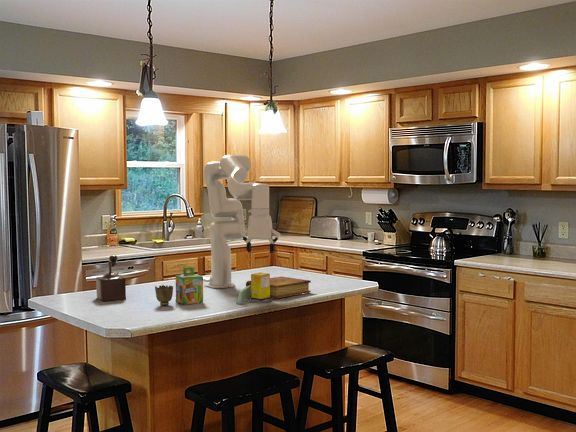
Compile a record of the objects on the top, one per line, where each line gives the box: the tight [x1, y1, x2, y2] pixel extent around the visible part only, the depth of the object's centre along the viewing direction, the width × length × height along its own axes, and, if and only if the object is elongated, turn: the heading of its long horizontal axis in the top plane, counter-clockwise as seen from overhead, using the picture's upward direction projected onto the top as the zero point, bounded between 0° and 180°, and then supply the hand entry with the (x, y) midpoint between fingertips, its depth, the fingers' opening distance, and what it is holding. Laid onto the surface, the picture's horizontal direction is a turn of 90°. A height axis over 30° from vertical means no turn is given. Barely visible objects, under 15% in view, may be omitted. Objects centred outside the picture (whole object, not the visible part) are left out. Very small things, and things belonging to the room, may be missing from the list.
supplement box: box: [250, 271, 271, 301], centre depth 274 cm, size 6×6×11 cm
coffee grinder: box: [95, 254, 127, 302], centre depth 281 cm, size 16×11×18 cm
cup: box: [154, 284, 174, 307], centre depth 264 cm, size 8×7×8 cm
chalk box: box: [175, 266, 204, 306], centre depth 270 cm, size 9×9×15 cm
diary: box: [245, 276, 311, 299], centre depth 290 cm, size 23×19×6 cm
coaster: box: [248, 298, 274, 304], centre depth 274 cm, size 9×9×1 cm
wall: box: [235, 285, 251, 305], centre depth 275 cm, size 3×17×5 cm, turn 169°
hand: (260, 252), depth 274 cm, fingers open, 9 cm apart
